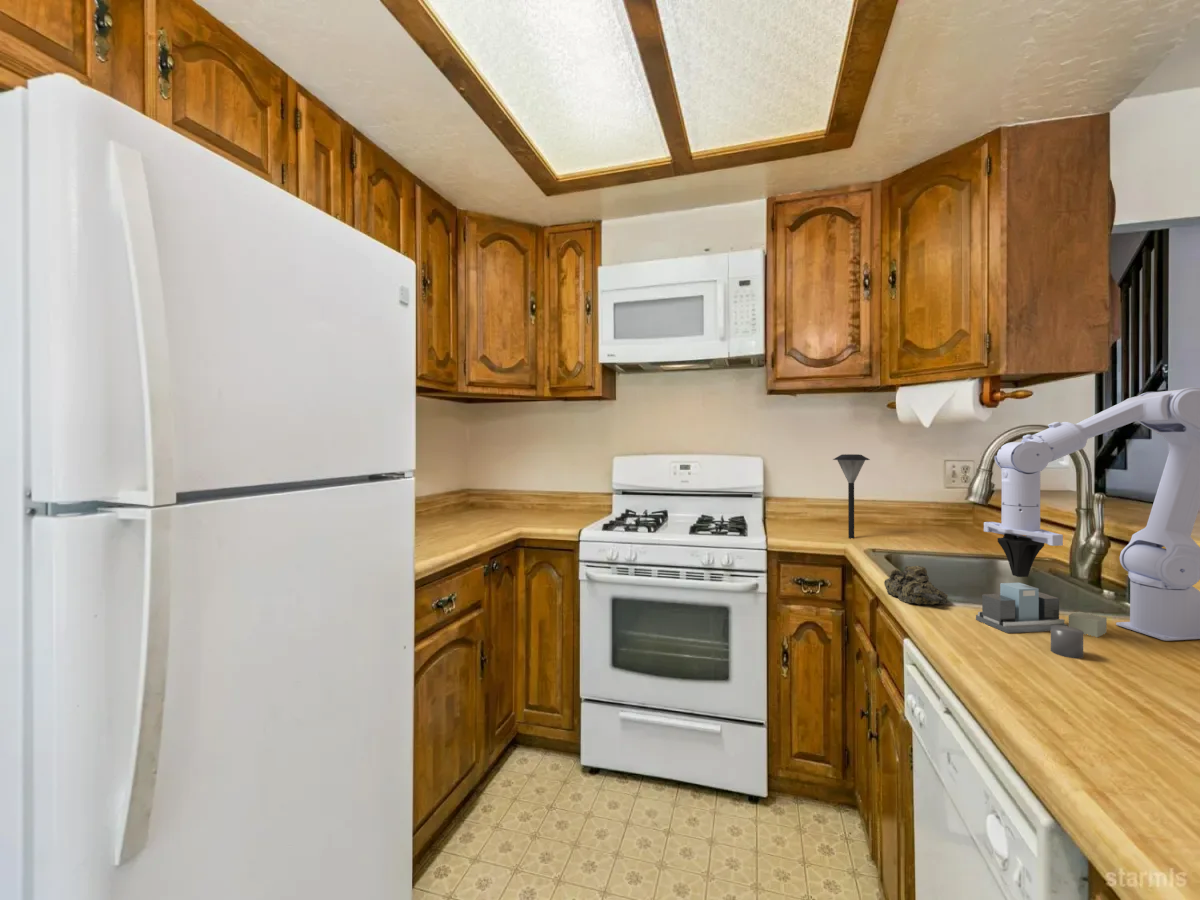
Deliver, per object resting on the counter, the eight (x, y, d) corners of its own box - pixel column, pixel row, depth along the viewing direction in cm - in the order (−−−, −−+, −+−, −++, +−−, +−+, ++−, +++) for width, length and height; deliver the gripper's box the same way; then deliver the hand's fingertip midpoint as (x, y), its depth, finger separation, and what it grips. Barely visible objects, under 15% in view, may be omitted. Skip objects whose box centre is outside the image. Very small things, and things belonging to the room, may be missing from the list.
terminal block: (1077, 627, 97) (1078, 611, 97) (1106, 633, 93) (1106, 617, 93) (1068, 631, 95) (1068, 615, 95) (1097, 638, 91) (1097, 621, 91)
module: (1018, 613, 100) (1019, 582, 100) (1038, 620, 96) (1038, 588, 96) (1000, 614, 99) (1000, 583, 99) (1019, 621, 95) (1019, 589, 95)
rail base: (1031, 617, 102) (1031, 589, 102) (1067, 630, 95) (1067, 600, 95) (975, 619, 101) (975, 592, 100) (1007, 633, 94) (1007, 603, 93)
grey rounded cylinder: (1065, 647, 87) (1065, 624, 87) (1090, 657, 83) (1090, 633, 83) (1044, 649, 87) (1044, 625, 86) (1067, 659, 83) (1068, 634, 83)
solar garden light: (831, 534, 191) (831, 454, 191) (867, 535, 187) (867, 454, 186) (834, 540, 180) (833, 455, 179) (873, 542, 176) (873, 455, 175)
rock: (906, 588, 123) (872, 571, 122) (939, 563, 118) (903, 545, 117) (926, 633, 113) (887, 615, 112) (963, 608, 107) (923, 588, 106)
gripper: (969, 500, 104) (969, 567, 104) (1037, 510, 90) (1037, 587, 90) (1001, 500, 105) (1001, 566, 105) (1073, 509, 90) (1073, 586, 90)
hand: (1020, 575), depth 97 cm, fingers closed
